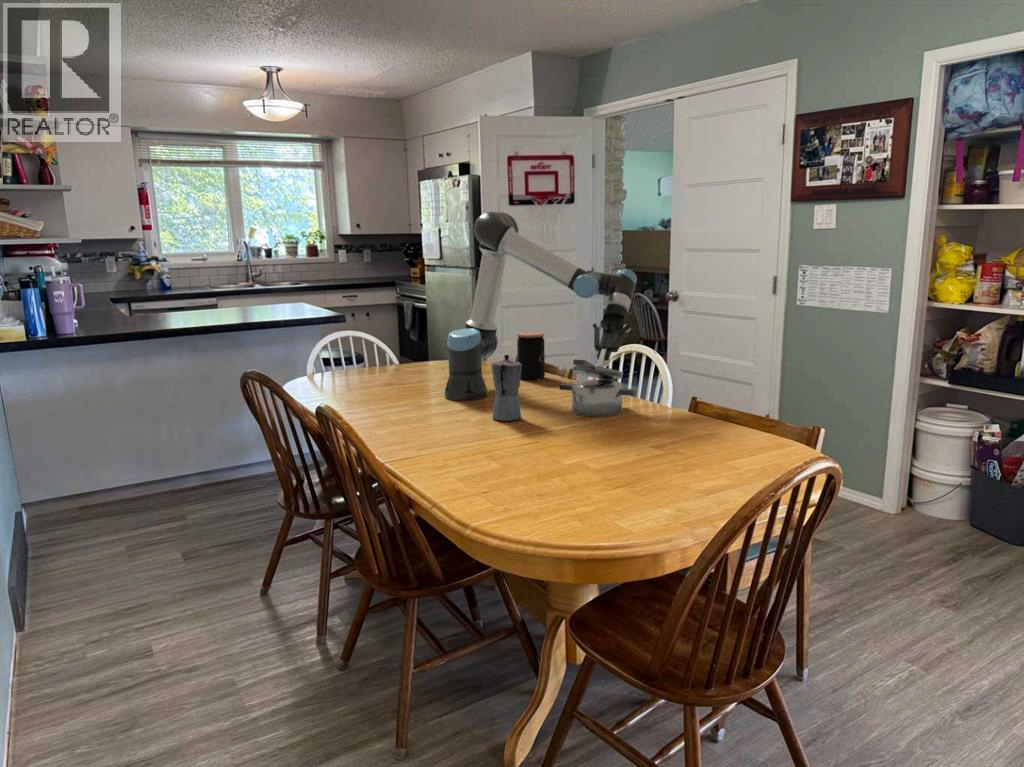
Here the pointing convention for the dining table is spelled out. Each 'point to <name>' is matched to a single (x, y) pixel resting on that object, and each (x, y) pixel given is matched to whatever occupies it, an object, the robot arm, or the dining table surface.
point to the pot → (597, 397)
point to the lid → (595, 371)
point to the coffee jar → (531, 355)
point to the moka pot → (506, 389)
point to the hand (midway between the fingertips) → (600, 368)
